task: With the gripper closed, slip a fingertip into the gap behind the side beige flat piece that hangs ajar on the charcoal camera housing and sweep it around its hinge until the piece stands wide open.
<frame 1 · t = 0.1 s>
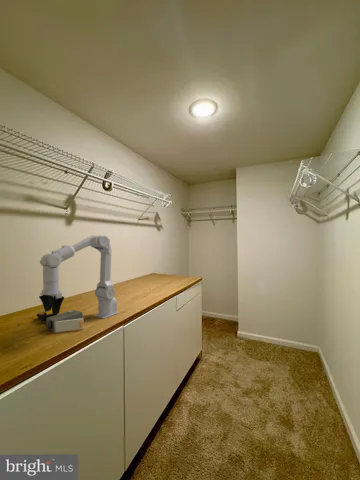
hand: (51, 312, 87), 10 cm above the table, fingers open, 7 cm apart
gadget: (46, 320, 105), on the table
camera housing: (65, 325, 98), on the table
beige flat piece: (68, 325, 91), point 3 cm above the table, hinge at 40.0°
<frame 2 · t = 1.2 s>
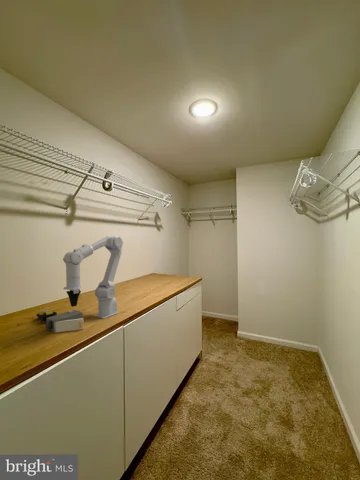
hand: (73, 305, 94), 10 cm above the table, fingers closed
nothing on the table moved.
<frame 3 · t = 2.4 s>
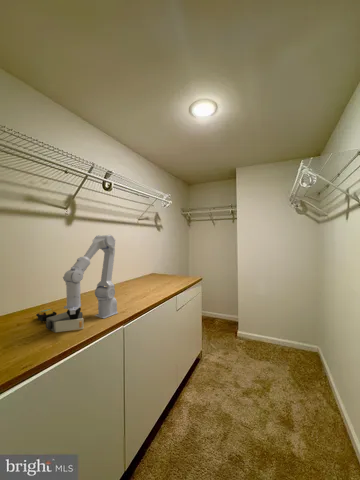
hand: (74, 325, 93), 2 cm above the table, fingers closed
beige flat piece: (68, 325, 91), point 3 cm above the table, hinge at 40.4°, touching gripper
everything else where it was.
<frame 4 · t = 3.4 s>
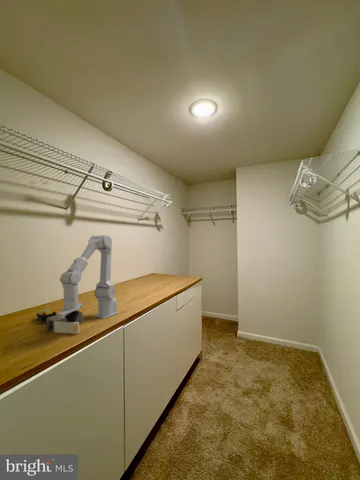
hand: (71, 328, 90), 2 cm above the table, fingers closed, pressing on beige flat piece
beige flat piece: (65, 327, 88), point 3 cm above the table, hinge at 64.2°, touching gripper
everything else where it was.
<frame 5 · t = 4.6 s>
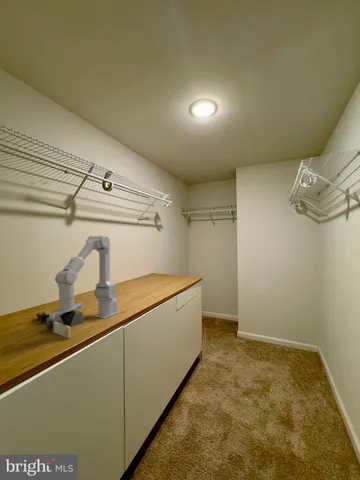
hand: (67, 329, 87), 3 cm above the table, fingers closed
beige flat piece: (60, 329, 86), point 3 cm above the table, hinge at 86.8°, touching gripper
everything else where it was.
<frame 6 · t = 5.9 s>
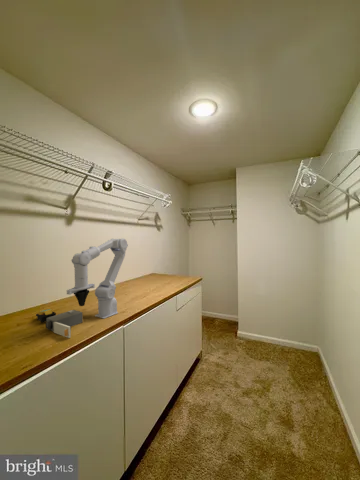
hand: (81, 305, 98), 9 cm above the table, fingers closed
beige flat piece: (60, 329, 86), point 3 cm above the table, hinge at 86.9°
everything else where it was.
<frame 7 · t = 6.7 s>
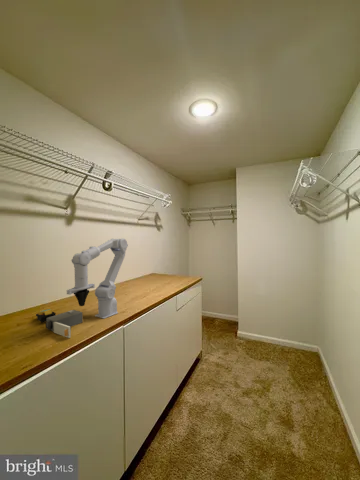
hand: (81, 305, 98), 9 cm above the table, fingers closed
nothing on the table moved.
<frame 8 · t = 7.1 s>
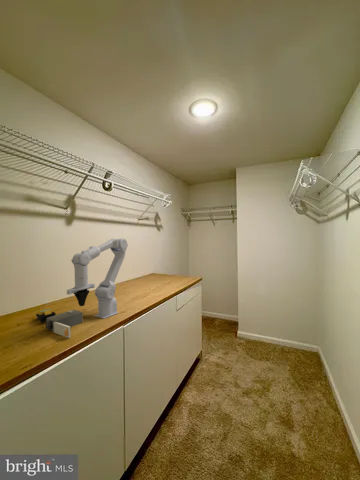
hand: (81, 305, 98), 9 cm above the table, fingers closed
nothing on the table moved.
at the end: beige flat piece at +87° (first picture: +40°); gadget moved 0.6 cm from its start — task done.
